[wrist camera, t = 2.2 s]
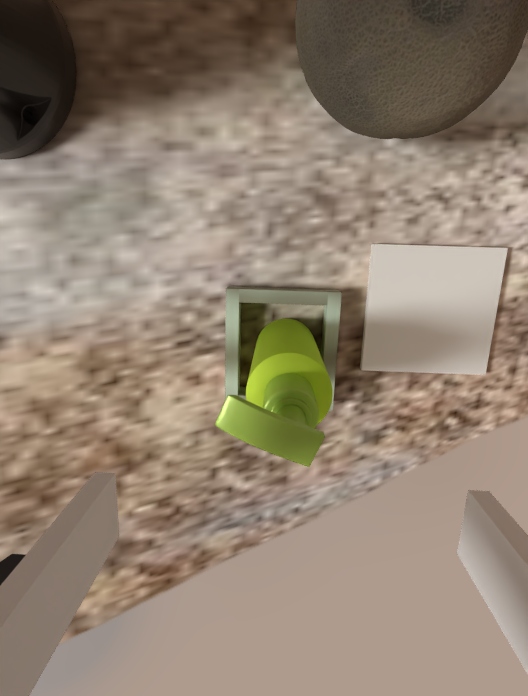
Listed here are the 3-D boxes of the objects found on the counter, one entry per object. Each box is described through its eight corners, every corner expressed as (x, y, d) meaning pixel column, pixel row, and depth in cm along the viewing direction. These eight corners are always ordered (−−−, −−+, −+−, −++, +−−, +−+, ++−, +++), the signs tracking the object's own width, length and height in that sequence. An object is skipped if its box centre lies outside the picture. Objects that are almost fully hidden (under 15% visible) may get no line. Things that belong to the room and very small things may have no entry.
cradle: (229, 286, 38) (225, 288, 36) (337, 289, 38) (341, 292, 35) (228, 397, 41) (225, 406, 38) (329, 401, 40) (332, 411, 38)
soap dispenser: (260, 304, 38) (242, 362, 19) (325, 332, 39) (372, 417, 19) (237, 357, 40) (198, 462, 20) (300, 384, 40) (320, 511, 21)
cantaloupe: (282, 153, 35) (285, 86, 20) (303, -39, 31) (324, -286, 17) (440, 171, 35) (557, 115, 20) (479, -20, 31) (653, -253, 17)
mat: (371, 244, 37) (373, 243, 36) (503, 247, 36) (507, 247, 35) (359, 367, 39) (361, 370, 39) (481, 372, 39) (485, 375, 38)
